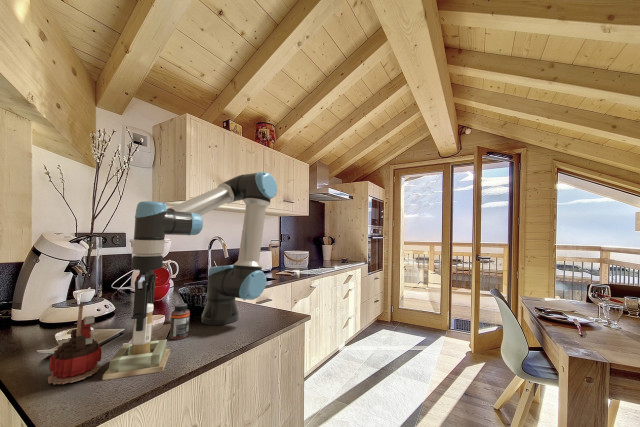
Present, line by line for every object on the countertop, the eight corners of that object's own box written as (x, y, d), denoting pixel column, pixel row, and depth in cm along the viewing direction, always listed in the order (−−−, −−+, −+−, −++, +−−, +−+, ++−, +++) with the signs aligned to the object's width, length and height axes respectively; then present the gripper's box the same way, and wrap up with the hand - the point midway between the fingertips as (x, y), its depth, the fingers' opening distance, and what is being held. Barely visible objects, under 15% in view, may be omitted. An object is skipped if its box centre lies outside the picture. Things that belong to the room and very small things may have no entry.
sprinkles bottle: (150, 349, 76) (153, 302, 77) (150, 355, 72) (153, 305, 74) (130, 353, 74) (134, 304, 75) (129, 359, 70) (134, 307, 71)
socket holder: (170, 352, 81) (170, 338, 81) (162, 371, 70) (163, 354, 70) (119, 359, 76) (120, 344, 76) (102, 380, 65) (104, 362, 65)
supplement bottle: (170, 335, 95) (172, 303, 96) (189, 333, 97) (190, 301, 98) (168, 341, 89) (170, 307, 90) (187, 338, 92) (189, 305, 93)
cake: (45, 376, 66) (53, 303, 68) (93, 363, 73) (99, 297, 75) (50, 393, 59) (58, 311, 61) (102, 376, 67) (109, 304, 68)
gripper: (140, 253, 82) (134, 330, 80) (122, 257, 66) (114, 353, 64) (168, 253, 85) (162, 327, 83) (156, 257, 69) (150, 349, 67)
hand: (141, 338), depth 73 cm, fingers closed on sprinkles bottle, 4 cm apart
